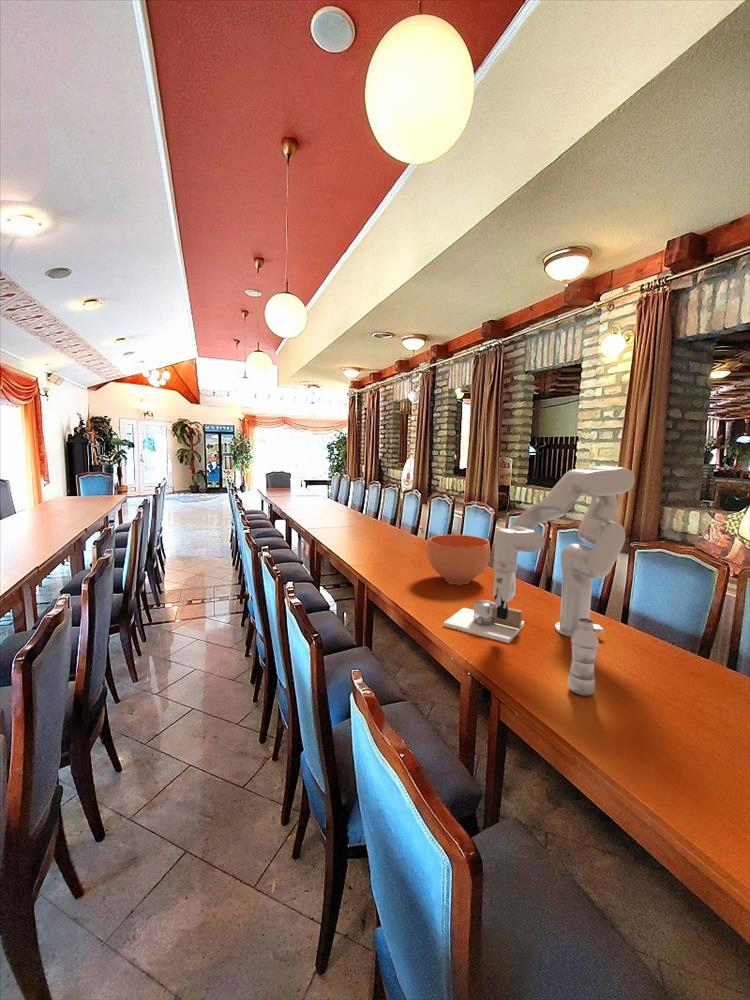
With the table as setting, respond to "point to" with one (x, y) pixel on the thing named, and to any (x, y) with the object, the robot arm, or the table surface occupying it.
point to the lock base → (481, 626)
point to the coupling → (495, 615)
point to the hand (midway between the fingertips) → (501, 618)
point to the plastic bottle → (583, 658)
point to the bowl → (458, 557)
